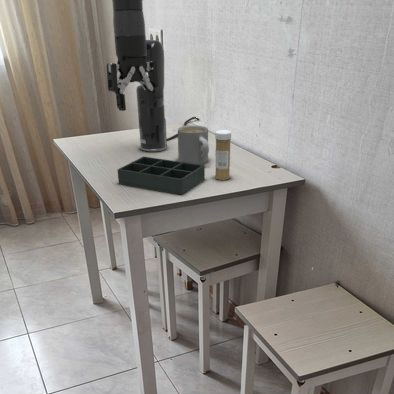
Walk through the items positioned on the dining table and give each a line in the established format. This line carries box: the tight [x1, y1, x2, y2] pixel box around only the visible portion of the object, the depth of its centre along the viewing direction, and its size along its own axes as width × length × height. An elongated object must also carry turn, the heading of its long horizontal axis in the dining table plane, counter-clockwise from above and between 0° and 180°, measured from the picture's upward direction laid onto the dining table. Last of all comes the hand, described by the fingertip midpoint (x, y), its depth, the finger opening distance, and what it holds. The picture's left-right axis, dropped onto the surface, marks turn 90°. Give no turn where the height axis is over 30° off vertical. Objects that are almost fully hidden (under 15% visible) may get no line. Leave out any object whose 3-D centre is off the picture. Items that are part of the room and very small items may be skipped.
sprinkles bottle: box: [214, 129, 232, 181], centre depth 143 cm, size 5×5×13 cm
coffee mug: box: [177, 124, 210, 165], centre depth 157 cm, size 13×10×10 cm
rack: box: [116, 156, 206, 196], centre depth 143 cm, size 15×22×4 cm
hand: (135, 108), depth 124 cm, fingers open, 8 cm apart
